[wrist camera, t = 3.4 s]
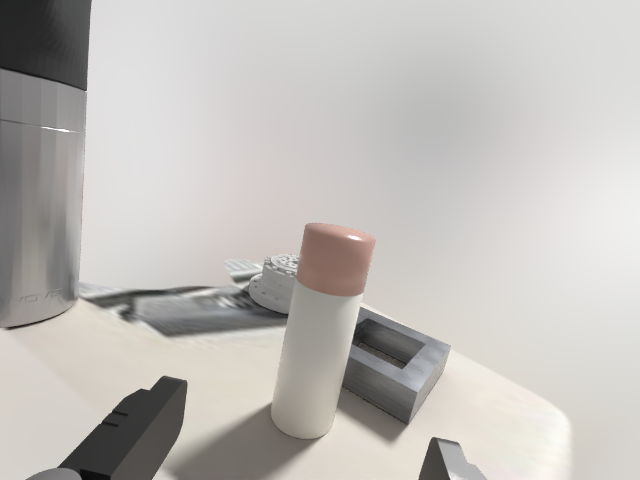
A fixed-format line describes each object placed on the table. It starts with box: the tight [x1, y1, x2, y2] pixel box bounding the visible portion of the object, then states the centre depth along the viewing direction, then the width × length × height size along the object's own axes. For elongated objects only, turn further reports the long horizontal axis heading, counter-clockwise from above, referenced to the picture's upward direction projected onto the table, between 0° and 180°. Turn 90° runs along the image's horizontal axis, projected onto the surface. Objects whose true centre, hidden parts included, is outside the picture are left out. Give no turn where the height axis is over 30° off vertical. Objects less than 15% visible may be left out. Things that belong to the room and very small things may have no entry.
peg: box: [271, 223, 376, 439], centre depth 21 cm, size 4×4×12 cm
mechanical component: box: [248, 254, 300, 314], centre depth 40 cm, size 10×4×10 cm
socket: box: [342, 307, 451, 425], centre depth 29 cm, size 9×9×2 cm
